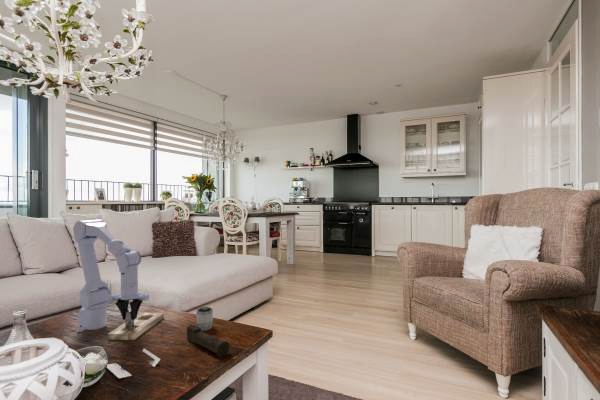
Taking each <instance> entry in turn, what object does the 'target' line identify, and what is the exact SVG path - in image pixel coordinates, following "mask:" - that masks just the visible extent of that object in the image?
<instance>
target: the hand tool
mask: <svg viewBox="0 0 600 400" xmlns="http://www.w3.org/2000/svg"><path fill="white" fill-rule="evenodd" d="M185 331H186V337H187V339H188V340H189V342H191V343H192V344H193V345H195V344H196V345H200V346H201V347H203V348H205V349H207V350H209V351H211V352H213V353H214V354H216V356H217V358H220V359H221V357H224V356H226V355H227V354H228V353H229V349H230V342H229V341H226V340H221V339H219V338H218V337H217V336H212V335H210V334H209V333H206V332H204V331H201V328H199V327H197V325H194V324H189V325H188V326H187V328H186V330H185Z"/></svg>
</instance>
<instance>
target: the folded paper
mask: <svg viewBox="0 0 600 400" xmlns="http://www.w3.org/2000/svg"><path fill="white" fill-rule="evenodd" d="M142 352H143V353H145V354H146V355H147V356H149V357H150V358H152V359H153V360H149V359H148V360H146V361H145V362H147V361H148V362H149V363H148V362H147V363H148V364H150V366H152V367H154V368H155V367H156V365H158V363H159V362H160V360H161V358H160V357H158V356H157V355H155V354H153V353H152V352H151V351H149V350H147V349H146V348H143V349H142ZM106 365H107V367H106V368H107V369H108V371H110V372H111V373H113V375H114V376H115V377H117V378H118V379H122V378H127V377H131V376H132V374H131V373H130V372H128V371H127V370H126V369H125V368H126V367H125V366H124V364H123V363H122V364H121V365H120V364H118V363H117V362H113V363H109V364H106Z"/></svg>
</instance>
